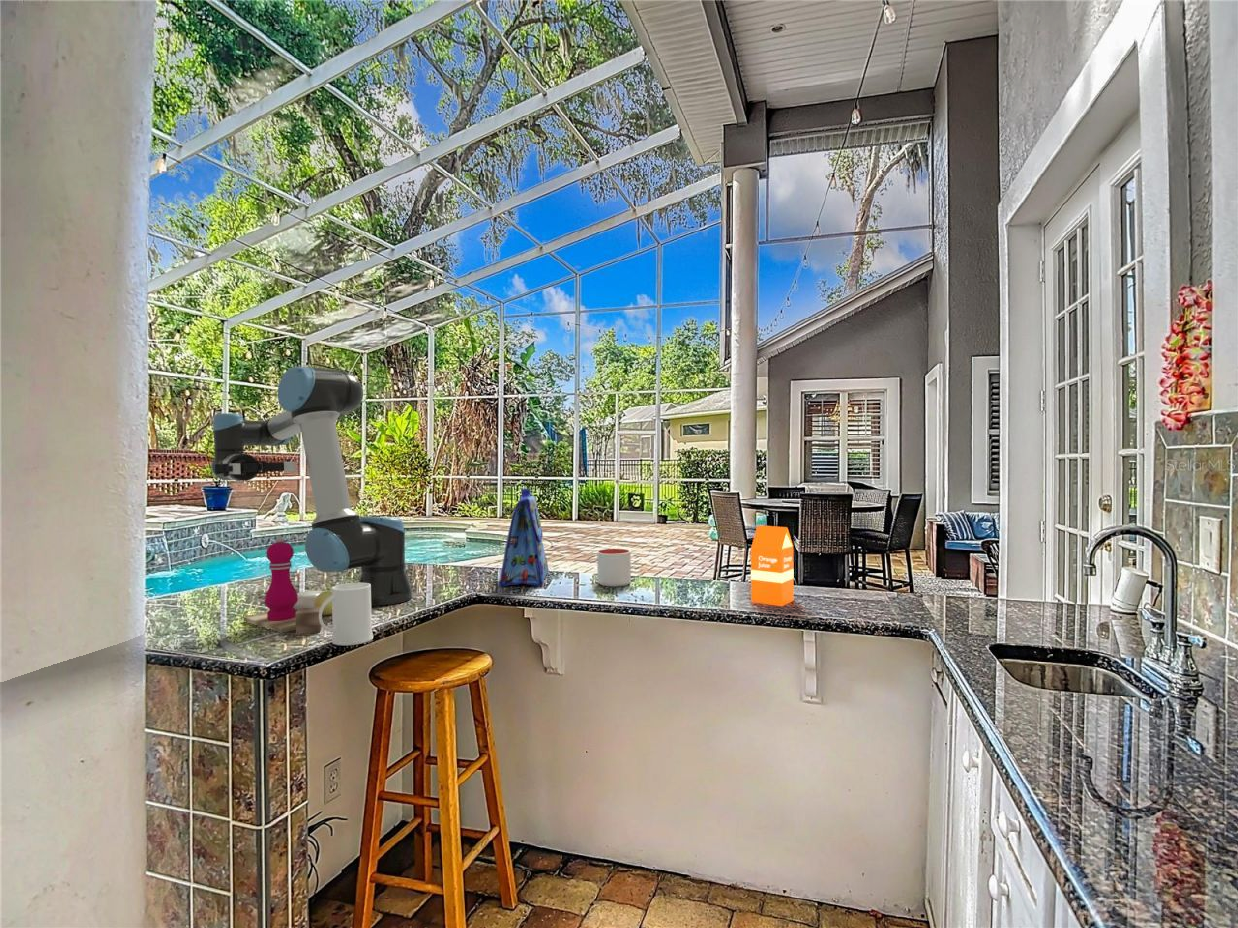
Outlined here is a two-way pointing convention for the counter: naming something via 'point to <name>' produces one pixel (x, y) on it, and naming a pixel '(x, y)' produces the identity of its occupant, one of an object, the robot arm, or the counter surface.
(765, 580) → the orange juice
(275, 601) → the pepper mill
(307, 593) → the white rounded piece
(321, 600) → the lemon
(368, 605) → the mug
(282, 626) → the serving board
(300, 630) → the walnut block
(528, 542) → the lunch bag
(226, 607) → the counter surface
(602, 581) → the cup
